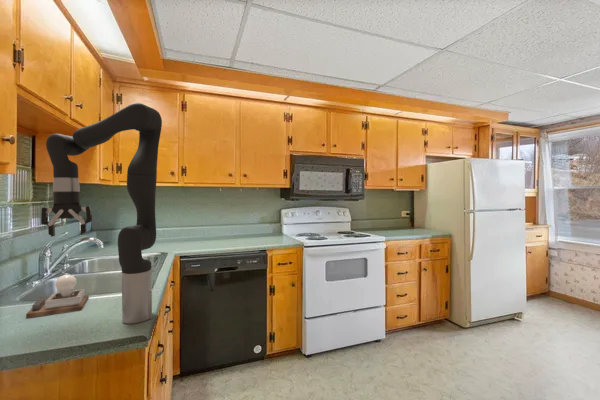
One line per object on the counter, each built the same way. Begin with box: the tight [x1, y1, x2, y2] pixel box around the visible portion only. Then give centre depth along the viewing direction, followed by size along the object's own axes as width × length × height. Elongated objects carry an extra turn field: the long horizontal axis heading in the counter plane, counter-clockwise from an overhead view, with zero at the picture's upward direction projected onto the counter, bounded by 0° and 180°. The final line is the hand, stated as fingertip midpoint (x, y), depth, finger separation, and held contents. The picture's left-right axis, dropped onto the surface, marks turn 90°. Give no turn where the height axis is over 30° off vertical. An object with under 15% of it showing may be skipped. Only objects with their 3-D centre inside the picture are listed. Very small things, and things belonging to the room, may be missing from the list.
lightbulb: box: [55, 274, 77, 298], centre depth 113 cm, size 6×6×11 cm
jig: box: [25, 288, 90, 319], centre depth 113 cm, size 16×14×4 cm
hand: (68, 235), depth 105 cm, fingers open, 8 cm apart
